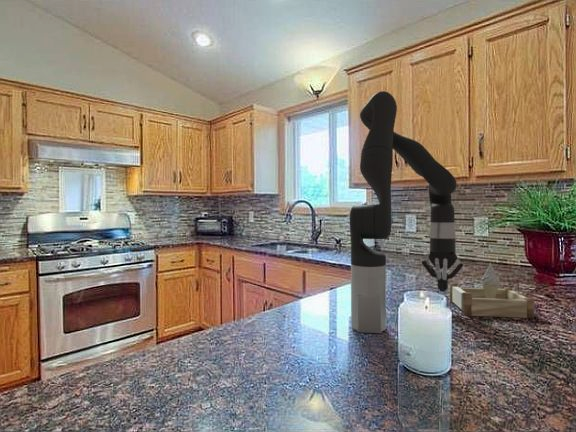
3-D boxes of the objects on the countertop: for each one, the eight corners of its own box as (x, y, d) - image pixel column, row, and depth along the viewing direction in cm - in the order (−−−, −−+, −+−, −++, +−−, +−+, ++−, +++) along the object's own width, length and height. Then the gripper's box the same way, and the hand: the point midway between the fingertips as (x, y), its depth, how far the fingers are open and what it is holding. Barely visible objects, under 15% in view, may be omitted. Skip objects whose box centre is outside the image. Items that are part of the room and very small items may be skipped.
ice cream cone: (481, 310, 112) (481, 262, 111) (481, 306, 116) (481, 260, 116) (500, 312, 109) (500, 263, 109) (499, 308, 114) (499, 261, 114)
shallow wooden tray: (535, 318, 103) (536, 296, 103) (464, 315, 106) (464, 294, 106) (510, 303, 119) (510, 284, 119) (448, 301, 123) (448, 282, 122)
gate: (452, 302, 120) (452, 285, 119) (458, 302, 119) (458, 286, 119) (462, 311, 109) (462, 293, 109) (469, 311, 109) (469, 293, 109)
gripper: (467, 236, 112) (467, 291, 112) (424, 235, 120) (424, 286, 120) (462, 238, 106) (463, 296, 106) (417, 236, 114) (418, 290, 114)
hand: (442, 291), depth 113 cm, fingers closed
